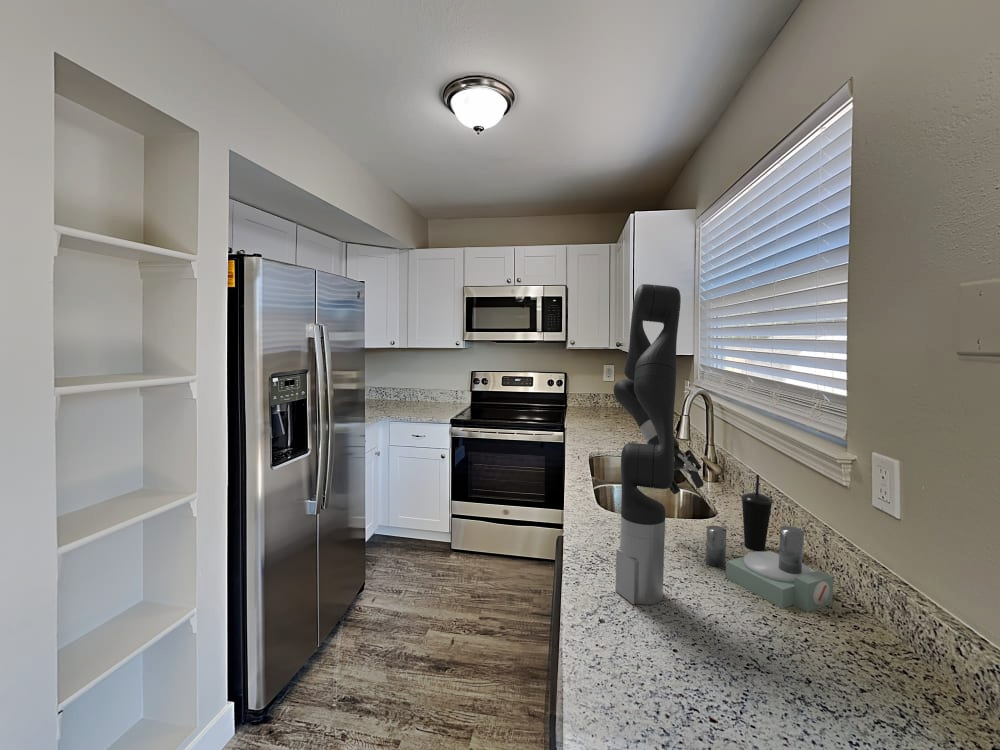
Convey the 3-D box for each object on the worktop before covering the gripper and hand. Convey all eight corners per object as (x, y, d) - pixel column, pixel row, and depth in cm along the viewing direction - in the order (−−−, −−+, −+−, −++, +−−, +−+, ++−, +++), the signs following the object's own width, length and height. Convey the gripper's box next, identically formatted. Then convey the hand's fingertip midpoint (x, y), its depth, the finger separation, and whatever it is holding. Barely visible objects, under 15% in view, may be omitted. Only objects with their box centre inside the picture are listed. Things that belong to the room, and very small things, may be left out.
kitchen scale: (798, 617, 94) (800, 588, 94) (725, 577, 110) (726, 552, 110) (844, 601, 100) (846, 574, 100) (769, 566, 116) (770, 542, 116)
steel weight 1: (716, 569, 114) (717, 533, 113) (702, 561, 118) (703, 527, 117) (729, 566, 116) (730, 530, 115) (714, 558, 120) (715, 524, 119)
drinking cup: (768, 556, 121) (772, 480, 120) (736, 548, 126) (739, 475, 125) (772, 546, 128) (776, 474, 126) (741, 539, 132) (744, 469, 131)
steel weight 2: (793, 575, 101) (795, 535, 100) (773, 566, 105) (775, 527, 104) (806, 571, 103) (808, 532, 102) (787, 563, 107) (788, 524, 106)
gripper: (646, 433, 125) (677, 489, 117) (685, 426, 132) (717, 479, 123) (632, 447, 131) (661, 501, 123) (670, 440, 137) (699, 490, 129)
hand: (689, 489), depth 123 cm, fingers open, 8 cm apart
